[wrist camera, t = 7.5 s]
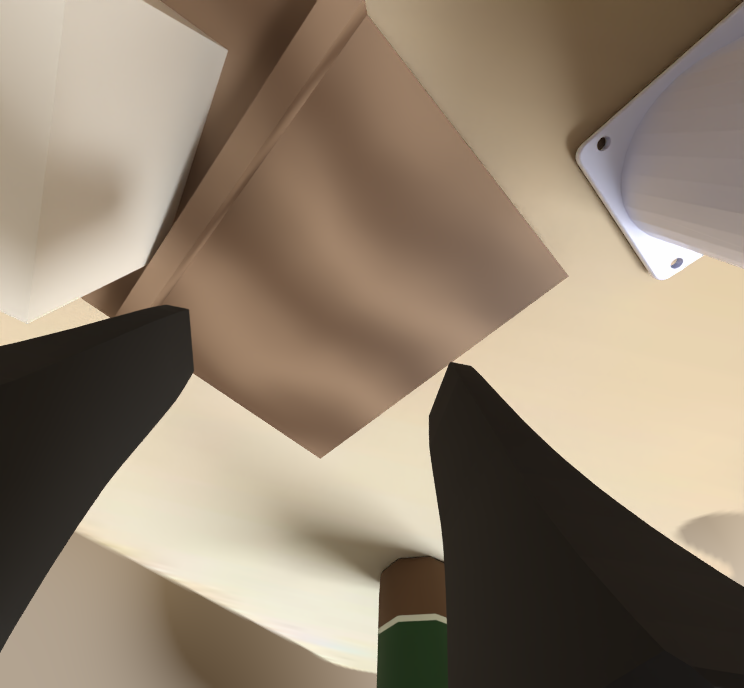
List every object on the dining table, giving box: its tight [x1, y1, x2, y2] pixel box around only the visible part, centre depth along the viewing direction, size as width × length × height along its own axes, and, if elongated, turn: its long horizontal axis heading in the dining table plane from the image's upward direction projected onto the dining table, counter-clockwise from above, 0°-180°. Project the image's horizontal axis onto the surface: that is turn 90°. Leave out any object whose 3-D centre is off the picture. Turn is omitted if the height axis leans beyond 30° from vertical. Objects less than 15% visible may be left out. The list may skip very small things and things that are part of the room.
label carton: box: [0, 0, 228, 324], centre depth 11 cm, size 9×5×7 cm, turn 147°
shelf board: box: [81, 0, 568, 459], centre depth 16 cm, size 18×22×3 cm
